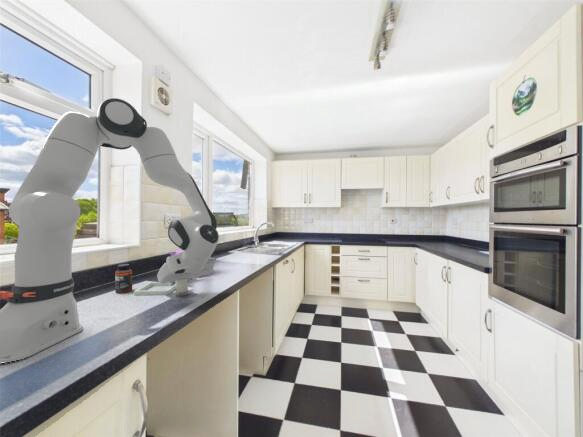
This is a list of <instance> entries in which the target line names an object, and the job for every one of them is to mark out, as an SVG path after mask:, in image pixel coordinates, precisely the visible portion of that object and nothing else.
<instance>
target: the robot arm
mask: <svg viewBox="0 0 583 437" xmlns="http://www.w3.org/2000/svg"><path fill="white" fill-rule="evenodd" d="M96 111H97V112H96V116H89V115H86V114H84V113H81V112H77V111H68V112H65V113H64V114H63V115H62V116H60V118H59V119H58V120H57V121H56V123H55V124H54V126H53V127H52V128H51V130H50V132H49V133H48V135H47V138H46V139H45V141H44V143H43V146H42V148H41V150H40V151H39V154H38V155H37V158H36V160H35V162H34V164H33V165H32V167H31V169H30V170H29V172H28V174H27V176H26V177H25V178H24V180H23V182H22V183H21V185H20V187H19V189H18V190H17V192H16V193H15V195H14V197H13V199H12V201H11V202H10V205H9V207H8V214H9V217H10V220H11V221H12V222H14V224H16V226H19V228H18V235H17V236H18V237H17V243H16V248H15V252H14V285H12V288H11V289H10V290H6V291H5V290H0V300H6V301H7V303H6V304H5V305H4V306H3V307H2V308H0V363H1V362H10V363H12V362H11V361H15V362H17V361H16V360H19V361H21V360H20V359H22V360H24V358H25V359H27V358H29V357H31V356H33V355H36V354H37V353H39V352H41V351H43V350H45V349H48V348H49V347H52V346H53V345H56V344H57V343H60V342H62V341H63V340H66V339H68V338H70V337H72V336H74V335H76V334H78V333H80V332H83V330H84V328H83V325H82V324H80V319H79V313H78V312H79V311H78V304H77V300H76V299H75V296H74V293H73V291H74V289H75V281H74V278H73V277H72V253H73V252H72V251H73V244H74V240H75V235H76V230H77V223H78V221H79V219H80V217H81V206H80V205H79V203H78V201H77V200H75V199H74V198H73V197H74V196H75V195H76V194H77V192H78V190H79V189H80V187H81V186H82V185H83V184H84V183H85V182H86V180H87V177H88V174H89V172H90V170H91V167H92V165H93V162H94V160H95V158H96V155H97V152H98V150H99V148H100V147H103V148H110V149H115V150H128V149H130V148H131V147H133V148H134V149H135V150H136V152H137V153H138V155H139V158H140V161H141V163H142V166H143V169H144V171H145V173H146V175H147V177H148V178H149V179H150V180H151V181H152V182H154V183H156V184H158V185H159V186H163V187H168V188H172V189H175V190H177V191H180V193H182V194H183V195H184V197H185V199H186V201H187V202H188V204H189V206H190V208H191V210H192V212H193V214H189V215H184V216H180V217H177V218H175V219H172V220H171V221H170V222H169V225H168V230H167V233H168V234H167V235H168V238H169V240H170V241H171V242H172V243H173V244H174V245H175V246H176V247H177V248H179V250H185V251H183V252H181V253H178V254H176V255H173V256H171V255H170V256H167V257H166V260H165V262H164V264H163V265H162V266H161V267H160V268H159V270H158V272H157V274H156V278H157V280H158V281H157V282H160V283H161V284H163V283H168V282H169V285H170V286H169V287H172V286H173V285H174V284H175V282H176V281H178V280H183V279H188V280H189V281H188V283H191V282H194V281H195V280H196V279H198V278H199V277H202V276H207V275H210V274H211V273H212V271H213V270H214V268H215V263H216V262H217V258H216V257H212V255H213V253H214V252H215V250H216V248H217V246H218V243H219V238H220V237H219V236H220V235H219V232H218V230H217V228H218V221H217V218H216V216H215V214H214V212H212V210H211V209H210V208H209V205H208V204H207V202H206V200H205V198H204V197H203V194H202V192H201V190H200V189H199V187H198V184H197V183H196V181H195V179H194V178H193V176H192V175H191V174H190V173H189V172H188V171H186V170H185V169H184V168H183V166H182V165H181V163H180V161H179V159H178V157H177V155H176V152H175V149H174V148H173V145H172V143H171V141H170V138H169V137H168V136H167V134H166V132H164V130H162V129H161V128H159V127H156V126H155V127H154V126H148V123H147V120H146V119H145V118H144V117H143V116H142V115H141V114H139V112H138V111H137V110H136V108H135V106H133V105H131V104H130V103H129V102H128V101H125V99H121V98H107V99H105V100H103V102H101V104H100V105H99V106H98V108H97V110H96ZM210 256H211V258H209V257H210ZM26 357H27V358H26Z"/></svg>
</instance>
